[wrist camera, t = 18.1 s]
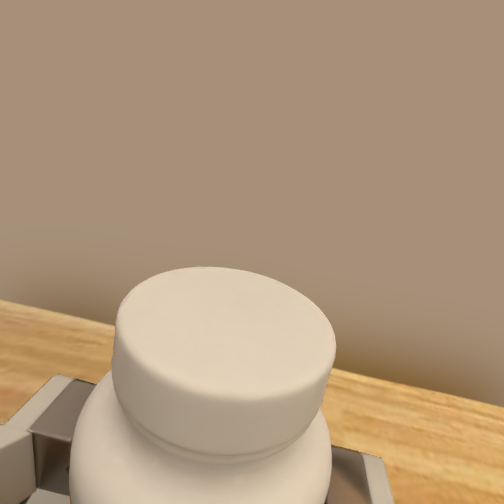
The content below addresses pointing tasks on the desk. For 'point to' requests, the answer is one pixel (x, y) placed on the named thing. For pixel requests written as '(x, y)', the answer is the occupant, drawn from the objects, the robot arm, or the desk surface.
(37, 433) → the robot arm
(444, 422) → the desk surface
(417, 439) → the desk surface
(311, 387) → the supplement bottle
